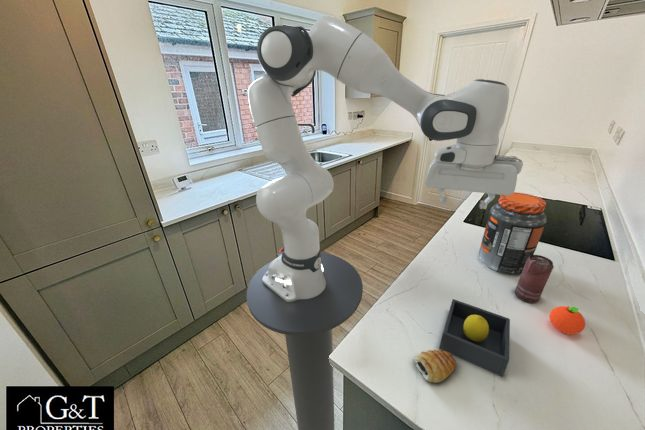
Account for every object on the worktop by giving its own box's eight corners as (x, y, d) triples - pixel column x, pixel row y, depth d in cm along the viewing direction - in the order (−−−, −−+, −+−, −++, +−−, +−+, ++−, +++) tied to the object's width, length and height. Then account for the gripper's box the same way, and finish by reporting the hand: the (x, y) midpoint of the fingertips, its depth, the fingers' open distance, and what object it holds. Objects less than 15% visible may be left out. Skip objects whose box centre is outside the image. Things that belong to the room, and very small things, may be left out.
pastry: (442, 349, 66) (445, 339, 65) (463, 374, 61) (466, 363, 59) (411, 361, 64) (413, 351, 62) (430, 388, 58) (432, 378, 56)
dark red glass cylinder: (508, 292, 83) (522, 256, 77) (523, 287, 85) (538, 252, 79) (527, 306, 78) (543, 268, 72) (543, 300, 80) (560, 263, 73)
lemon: (480, 332, 70) (488, 310, 66) (487, 350, 65) (495, 328, 61) (458, 328, 71) (464, 306, 67) (463, 346, 66) (470, 324, 63)
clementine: (555, 314, 75) (565, 295, 72) (586, 331, 69) (598, 312, 66) (540, 325, 72) (549, 305, 69) (571, 344, 66) (582, 324, 63)
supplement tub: (484, 246, 107) (502, 186, 95) (531, 262, 97) (557, 197, 85) (470, 263, 97) (488, 199, 86) (521, 283, 87) (548, 213, 75)
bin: (439, 348, 67) (442, 333, 64) (449, 313, 77) (452, 298, 74) (502, 376, 60) (509, 360, 57) (504, 333, 70) (510, 318, 67)
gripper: (522, 153, 62) (505, 206, 69) (430, 148, 70) (423, 196, 76) (528, 160, 57) (510, 216, 63) (429, 154, 65) (421, 205, 71)
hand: (462, 205), depth 70 cm, fingers open, 8 cm apart
